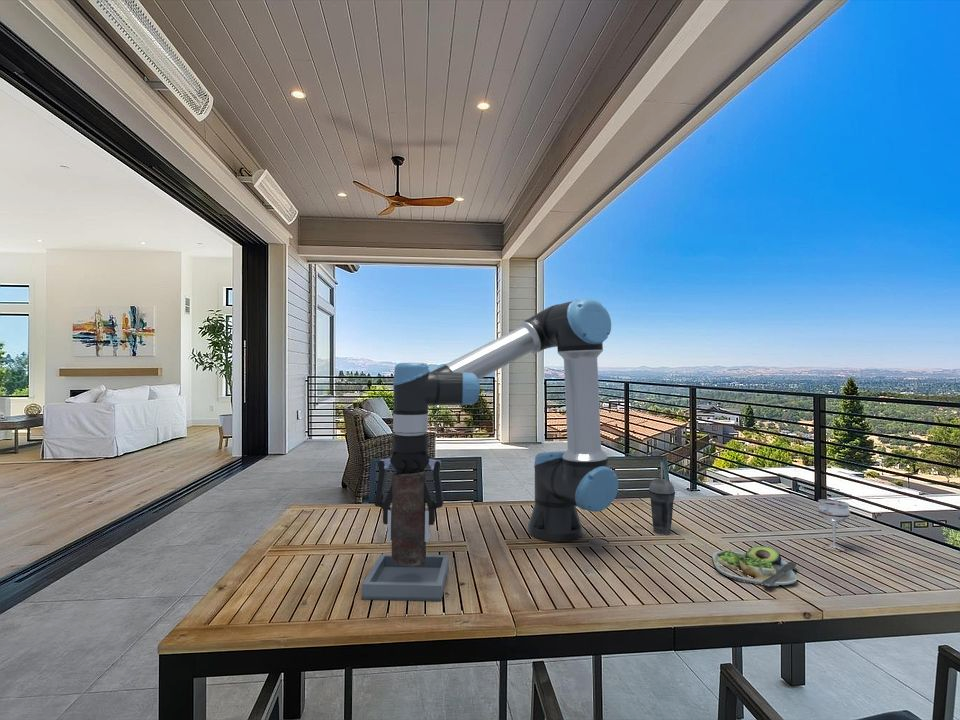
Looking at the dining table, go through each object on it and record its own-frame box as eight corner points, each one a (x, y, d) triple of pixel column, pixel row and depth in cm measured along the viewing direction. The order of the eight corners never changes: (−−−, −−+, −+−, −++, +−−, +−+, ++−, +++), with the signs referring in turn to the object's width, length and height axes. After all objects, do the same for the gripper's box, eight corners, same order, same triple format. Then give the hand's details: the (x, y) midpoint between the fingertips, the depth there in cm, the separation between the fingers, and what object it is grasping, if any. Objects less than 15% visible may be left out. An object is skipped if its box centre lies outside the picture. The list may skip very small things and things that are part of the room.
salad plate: (813, 601, 96) (813, 578, 96) (715, 585, 103) (715, 563, 104) (793, 566, 114) (792, 546, 114) (710, 554, 121) (710, 536, 121)
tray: (448, 568, 110) (449, 555, 111) (441, 601, 94) (441, 585, 95) (380, 567, 111) (380, 554, 111) (361, 599, 95) (362, 584, 95)
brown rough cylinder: (396, 572, 98) (398, 474, 98) (386, 560, 104) (387, 468, 105) (431, 566, 101) (432, 471, 102) (419, 554, 108) (420, 465, 108)
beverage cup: (648, 534, 135) (647, 463, 136) (649, 526, 142) (648, 459, 142) (675, 537, 132) (675, 465, 133) (675, 530, 139) (675, 461, 140)
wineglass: (852, 548, 125) (851, 502, 125) (849, 555, 120) (848, 507, 120) (820, 542, 130) (820, 497, 130) (816, 548, 125) (815, 502, 125)
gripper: (457, 431, 107) (456, 534, 106) (368, 430, 108) (367, 532, 107) (455, 436, 100) (453, 546, 99) (359, 434, 100) (357, 544, 99)
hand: (408, 539), depth 103 cm, fingers closed on brown rough cylinder, 7 cm apart
